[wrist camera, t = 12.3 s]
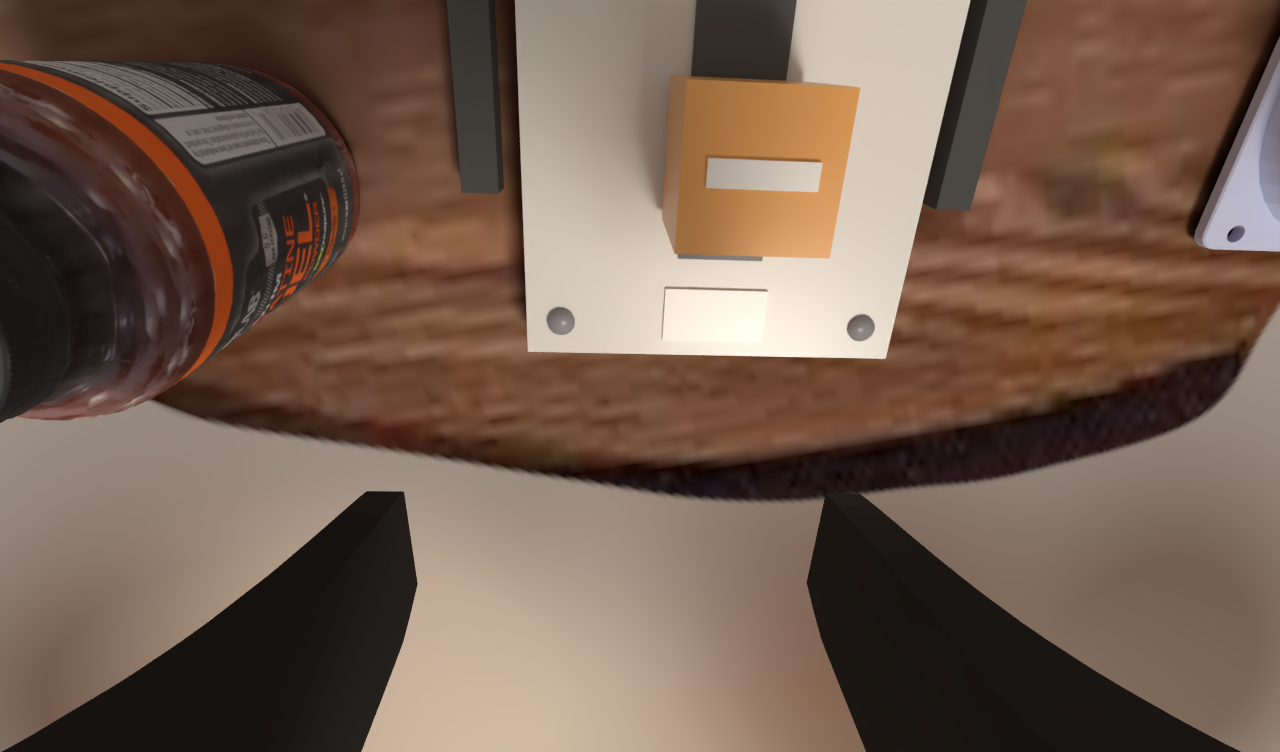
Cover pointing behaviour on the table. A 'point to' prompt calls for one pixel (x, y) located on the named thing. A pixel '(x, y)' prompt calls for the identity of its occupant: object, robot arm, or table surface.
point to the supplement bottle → (152, 223)
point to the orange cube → (755, 165)
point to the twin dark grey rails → (957, 145)
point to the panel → (635, 164)
